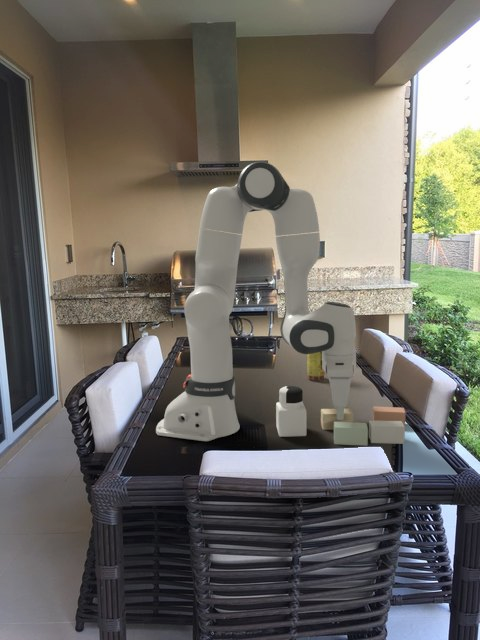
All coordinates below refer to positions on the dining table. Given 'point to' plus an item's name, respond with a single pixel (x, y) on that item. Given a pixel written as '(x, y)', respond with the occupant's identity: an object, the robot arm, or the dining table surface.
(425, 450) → the dining table surface
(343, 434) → the sage block
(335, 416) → the maple block
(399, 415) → the terracotta block
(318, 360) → the sauce bottle
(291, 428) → the medicine bottle
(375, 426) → the grey block
